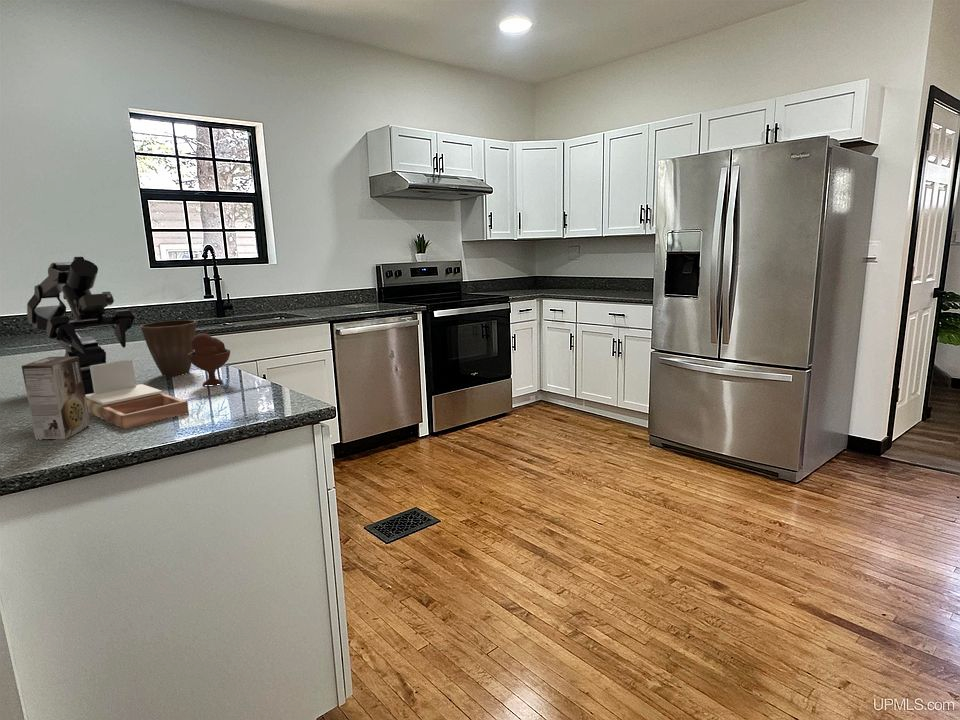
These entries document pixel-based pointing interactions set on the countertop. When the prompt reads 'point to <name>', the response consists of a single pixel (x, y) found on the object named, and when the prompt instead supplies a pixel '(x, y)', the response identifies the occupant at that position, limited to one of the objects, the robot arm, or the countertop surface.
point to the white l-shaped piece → (116, 383)
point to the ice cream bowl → (208, 355)
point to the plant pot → (170, 345)
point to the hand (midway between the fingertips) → (104, 349)
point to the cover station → (139, 410)
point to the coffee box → (56, 397)
